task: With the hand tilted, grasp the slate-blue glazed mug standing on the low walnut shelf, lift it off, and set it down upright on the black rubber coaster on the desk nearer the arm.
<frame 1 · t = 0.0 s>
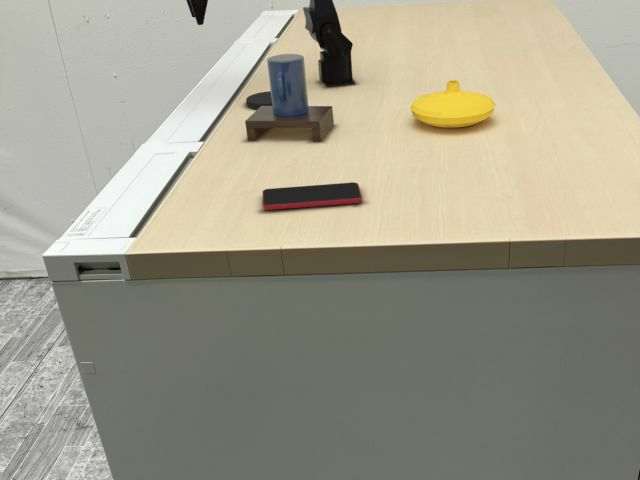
hand: (197, 20, 167), 15 cm above the table, tool pointing down, fingers open, 9 cm apart
coaster: (270, 103, 172), on the table
shelf: (291, 133, 154), on the table
vase: (452, 123, 155), on the table
mug: (291, 111, 153), point 3 cm above the table, touching shelf
smartphone: (312, 200, 127), on the table
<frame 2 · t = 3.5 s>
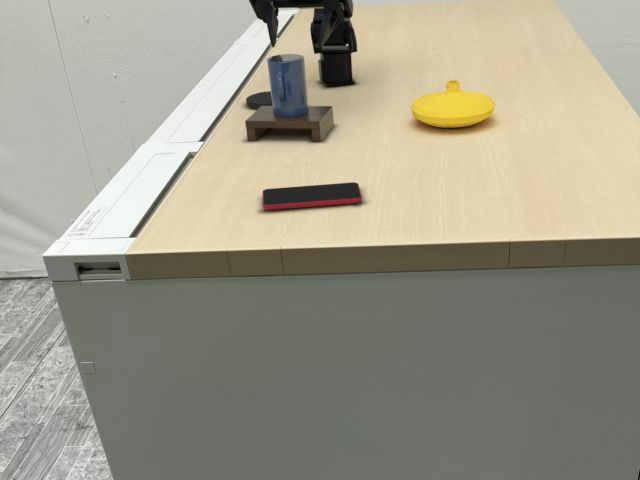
hand: (296, 45, 152), 13 cm above the table, tool tilted 45°, fingers open, 9 cm apart
nothing on the table moved.
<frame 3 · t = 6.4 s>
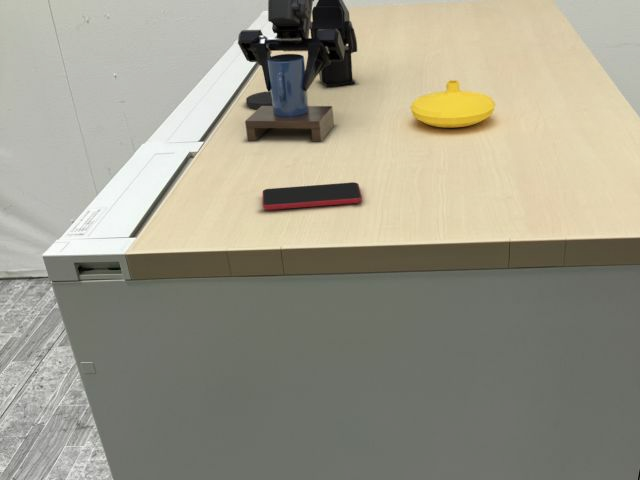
hand: (286, 89, 149), 8 cm above the table, tool tilted 45°, fingers closed on mug, 6 cm apart
mug: (291, 111, 153), point 4 cm above the table, touching gripper, shelf
everything else where it was.
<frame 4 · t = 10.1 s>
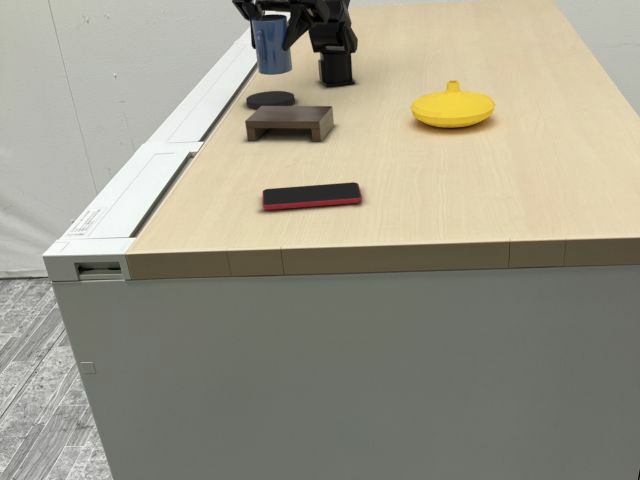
hand: (268, 48, 157), 12 cm above the table, tool tilted 45°, fingers closed on mug, 6 cm apart
mug: (275, 70, 160), point 8 cm above the table, touching gripper
everything else where it was.
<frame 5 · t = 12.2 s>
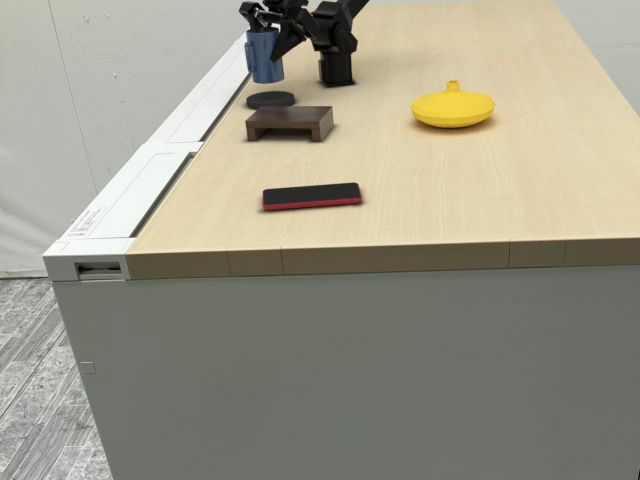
hand: (260, 59, 165), 9 cm above the table, tool tilted 45°, fingers closed on mug, 6 cm apart
mug: (268, 79, 169), point 5 cm above the table, touching gripper
everything else where it was.
when the fingers open (5 cm above the table, at t = 13.8 s): mug stays where it is, resting on coaster.
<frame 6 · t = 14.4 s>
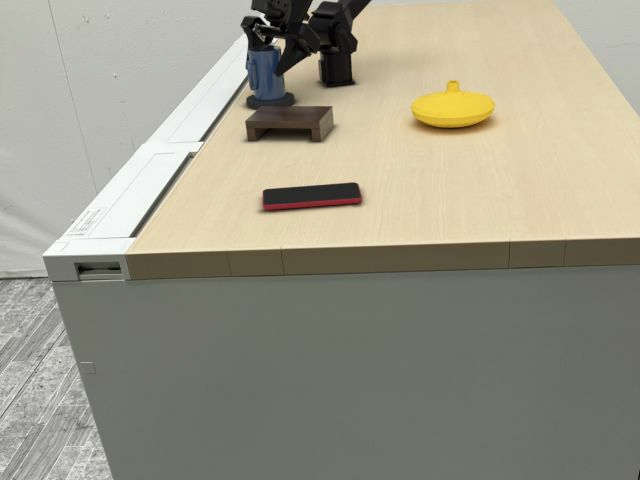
hand: (261, 72, 167), 6 cm above the table, tool tilted 45°, fingers open, 9 cm apart
mug: (270, 97, 171), point 1 cm above the table, touching coaster
everything else where it was.
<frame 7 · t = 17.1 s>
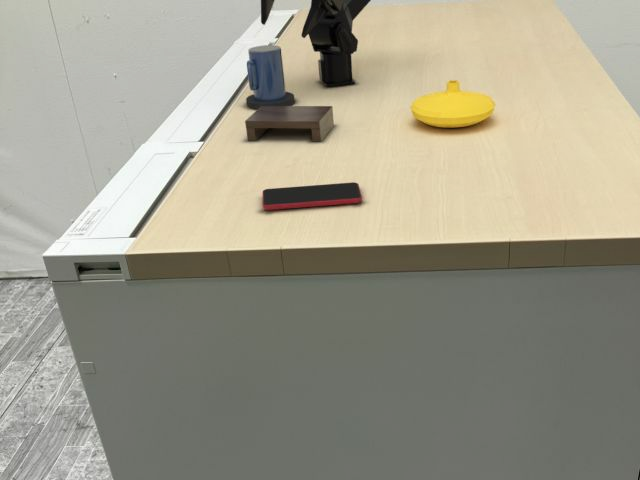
hand: (282, 30, 166), 13 cm above the table, tool tilted 35°, fingers open, 9 cm apart
nothing on the table moved.
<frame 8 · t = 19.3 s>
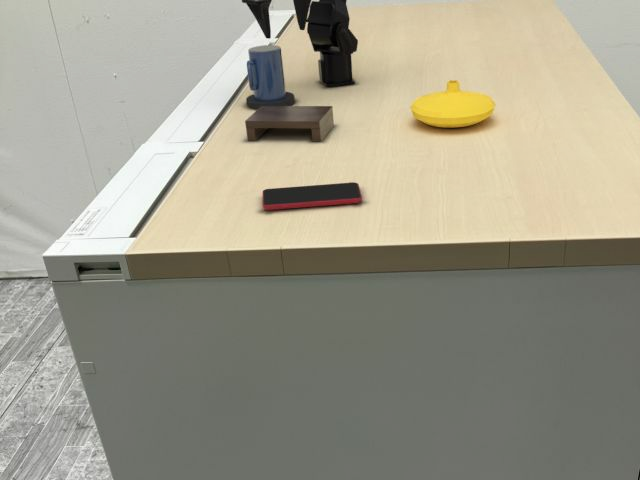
hand: (285, 34, 166), 12 cm above the table, tool pointing down, fingers open, 9 cm apart
nothing on the table moved.
at the end: mug 0.0 cm off-centre on the coaster, point 1.2 cm above the coaster's base; mug tilted 0°; the gripper is holding nothing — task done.
